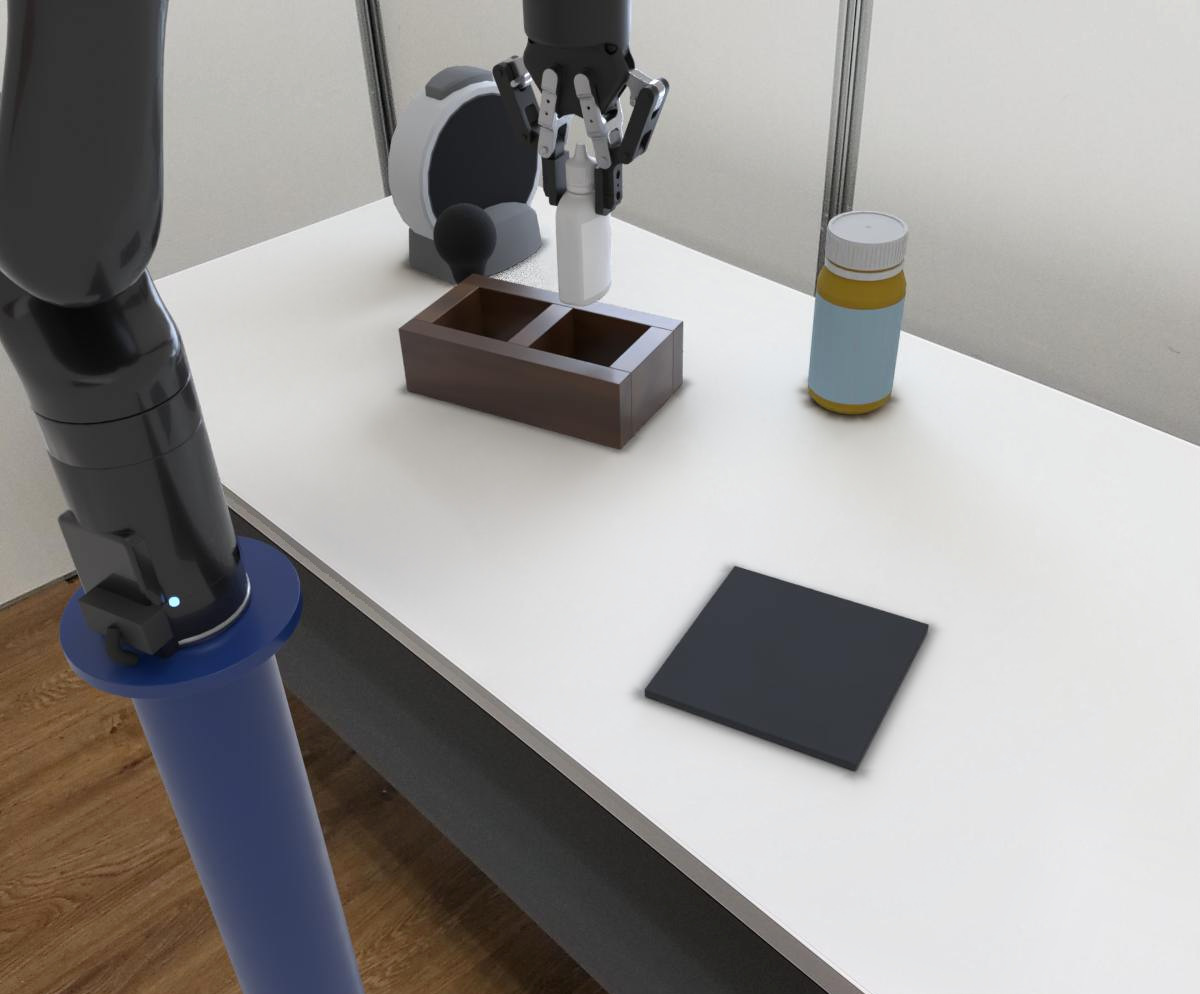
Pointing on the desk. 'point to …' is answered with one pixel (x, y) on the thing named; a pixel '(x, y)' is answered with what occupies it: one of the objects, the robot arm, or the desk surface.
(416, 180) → the alarm clock
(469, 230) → the light bulb
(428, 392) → the holder
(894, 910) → the desk surface
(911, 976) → the desk surface
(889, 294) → the bottle
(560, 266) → the eye dropper bottle
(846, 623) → the mat
